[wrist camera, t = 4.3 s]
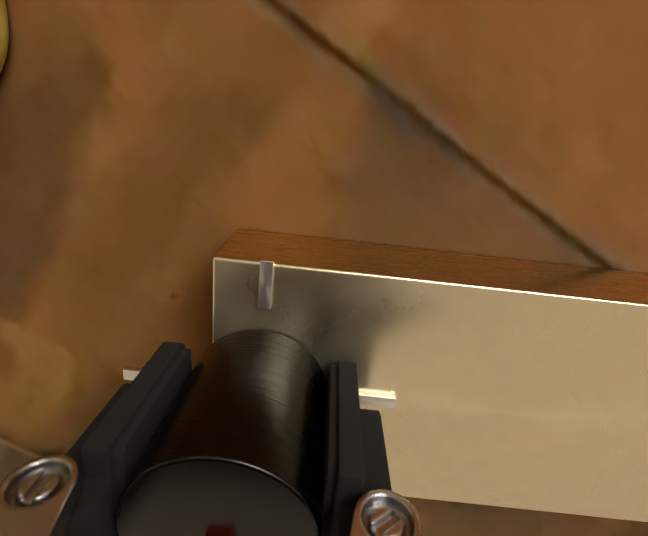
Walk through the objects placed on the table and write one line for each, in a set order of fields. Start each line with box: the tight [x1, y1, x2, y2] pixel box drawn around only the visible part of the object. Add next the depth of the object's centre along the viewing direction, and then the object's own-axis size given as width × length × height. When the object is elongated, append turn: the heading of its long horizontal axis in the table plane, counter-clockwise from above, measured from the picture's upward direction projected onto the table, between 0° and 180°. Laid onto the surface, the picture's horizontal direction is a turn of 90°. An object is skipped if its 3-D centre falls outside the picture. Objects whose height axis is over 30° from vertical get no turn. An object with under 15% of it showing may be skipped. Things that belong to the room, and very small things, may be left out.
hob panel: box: [123, 229, 648, 522], centre depth 13 cm, size 21×8×3 cm, turn 84°
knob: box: [115, 330, 326, 536], centre depth 9 cm, size 4×4×5 cm
